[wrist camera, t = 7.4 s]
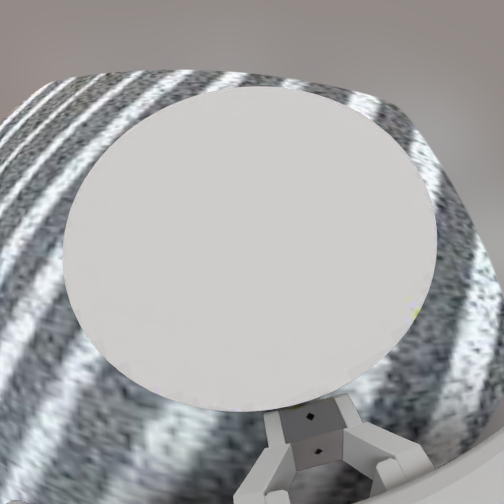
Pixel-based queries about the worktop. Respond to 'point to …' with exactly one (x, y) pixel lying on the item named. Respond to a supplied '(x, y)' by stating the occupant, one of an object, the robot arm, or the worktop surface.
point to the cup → (249, 249)
